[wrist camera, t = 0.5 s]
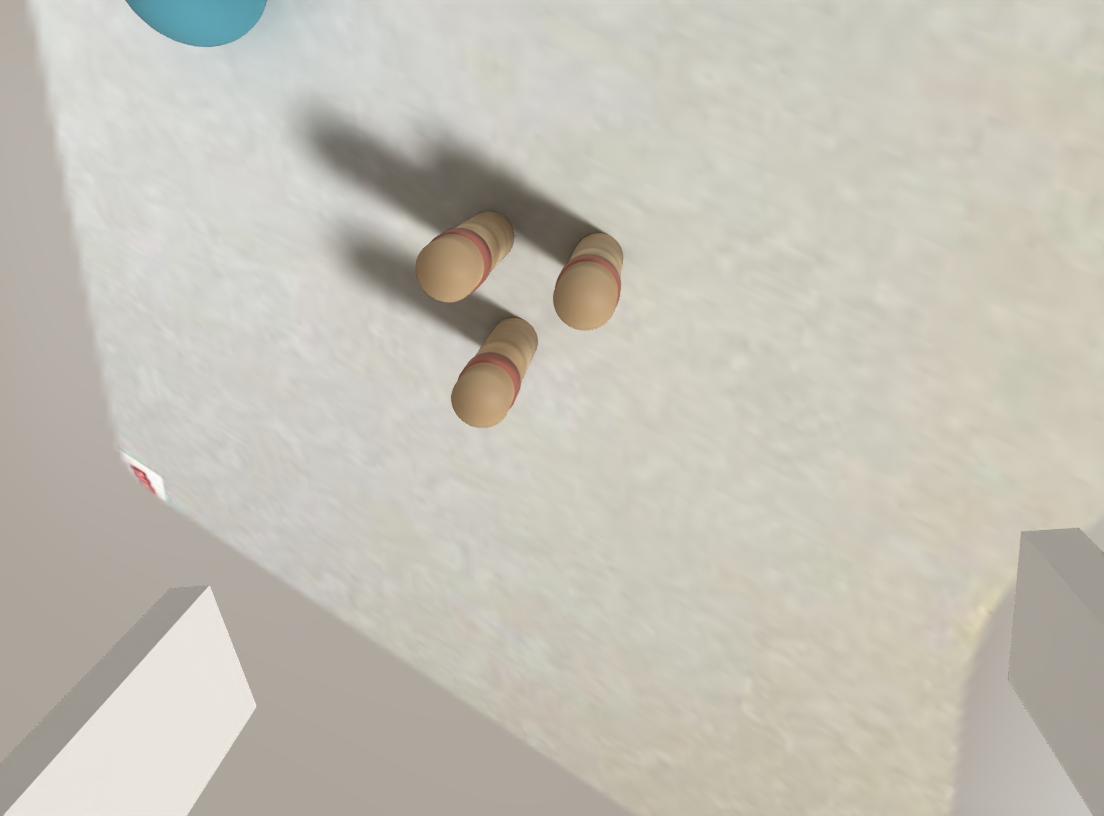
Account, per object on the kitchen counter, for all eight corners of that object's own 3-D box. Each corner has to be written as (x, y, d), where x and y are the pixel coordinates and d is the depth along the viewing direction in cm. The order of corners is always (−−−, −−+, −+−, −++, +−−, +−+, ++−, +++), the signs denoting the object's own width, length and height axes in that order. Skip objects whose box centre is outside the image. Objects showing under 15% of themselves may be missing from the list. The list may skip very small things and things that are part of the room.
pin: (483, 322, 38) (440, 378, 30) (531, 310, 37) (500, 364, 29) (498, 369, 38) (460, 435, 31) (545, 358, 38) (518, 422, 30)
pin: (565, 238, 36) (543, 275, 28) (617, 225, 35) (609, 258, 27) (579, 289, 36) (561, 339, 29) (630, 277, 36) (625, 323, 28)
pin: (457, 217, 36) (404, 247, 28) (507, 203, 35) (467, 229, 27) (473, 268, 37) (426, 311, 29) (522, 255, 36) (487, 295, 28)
